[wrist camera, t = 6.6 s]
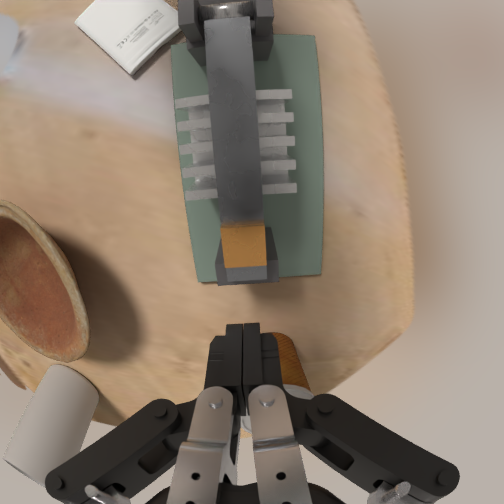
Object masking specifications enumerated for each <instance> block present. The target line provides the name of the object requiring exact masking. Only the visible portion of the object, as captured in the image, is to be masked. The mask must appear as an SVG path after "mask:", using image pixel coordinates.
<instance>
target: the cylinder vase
mask: <svg viewBox="0 0 504 504" xmlns="http://www.w3.org/2000/svg"><path fill="white" fill-rule="evenodd" d="M98 402H99V394H98V392H97V390H96V389H95V387H94V386H93V385H92V384H91V383H90V382H89V381H88V380H87V379H86V378H85V377H84V376H82V375H81V374H80V373H78V372H76V371H75V370H73V369H71V368H69V367H67V366H64V365H59V364H54V365H51V366H50V367H49V368H48V370H47V372H46V373H45V375H44V377H43V379H42V380H41V382H40V384H39V385H38V387H37V389H36V391H35V393H34V394H33V396H32V398H31V400H30V402H29V404H28V405H27V407H26V409H25V411H24V413H23V415H22V417H21V419H20V421H19V423H18V426H17V427H16V429H15V432H14V434H13V436H12V438H11V440H10V442H9V445H8V447H7V449H6V452H5V454H4V456H3V459H4V460H5V461H6V462H7V463H8V464H10V465H11V466H13V467H14V468H15V469H17V470H18V471H19V472H21V473H22V474H24V475H25V476H27V477H28V478H30V479H32V480H33V481H35V482H36V483H38V484H40V485H41V486H43V487H45V478H46V476H47V474H48V473H49V472H50V471H52V470H53V469H55V468H56V467H58V466H60V465H61V464H63V463H64V462H66V461H68V460H69V459H71V458H72V457H74V456H75V455H77V454H78V453H79V452H80V449H81V446H82V444H83V441H84V438H85V435H86V433H87V430H88V427H89V425H90V422H91V420H92V417H93V414H94V412H95V409H96V407H97V404H98ZM45 488H46V487H45Z"/></svg>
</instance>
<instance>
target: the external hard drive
mask: <svg viewBox="0 0 504 504" xmlns="http://www.w3.org/2000/svg"><path fill="white" fill-rule="evenodd" d="M75 24H76V25H77V26H78V27H79V28H80V29H81V30H82V31H84V32H85V33H86V34H87V35H88V36H89V37H90V38H91V39H92V40H94V41H95V42H96V43H97V44H98V45H99V46H100V47H101V48H102V49H103V50H104V51H105V52H107V53H108V54H109V55H110V56H111V57H112V58H113V59H114V60H115V61H116V62H117V63H118V64H119V65H120V66H122V67H123V68H124V69H125V70H126V71H127V72H128V73H129V74H130V75H134V73H135V72H136V71H137V70H138V69H139V68H140V67H141V66H142V65H143V64H144V63H145V62H146V61H147V60H149V59H150V58H151V57H152V56H153V55H154V54H155V53H156V51H157V50H158V49H159V48H160V47H161V46H162V45H163V44H166V43H167V42H168V41H170V40H171V39H172V38H173V37H174V36H175V35H177V34H178V33H179V32H180V31H182V30H181V29H180V28H179V26H178V11H177V10H175V9H174V8H173V7H171V6H170V5H169V4H168V3H166V2H165V1H163V0H95V1H94V2H93V3H92V4H91V5H90V6H89V7H88V8H87V9H86V10H85V11H84V12H83V13H82V14H81V15H80V16H79V17H78V18H77V20H76V21H75Z"/></svg>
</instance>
